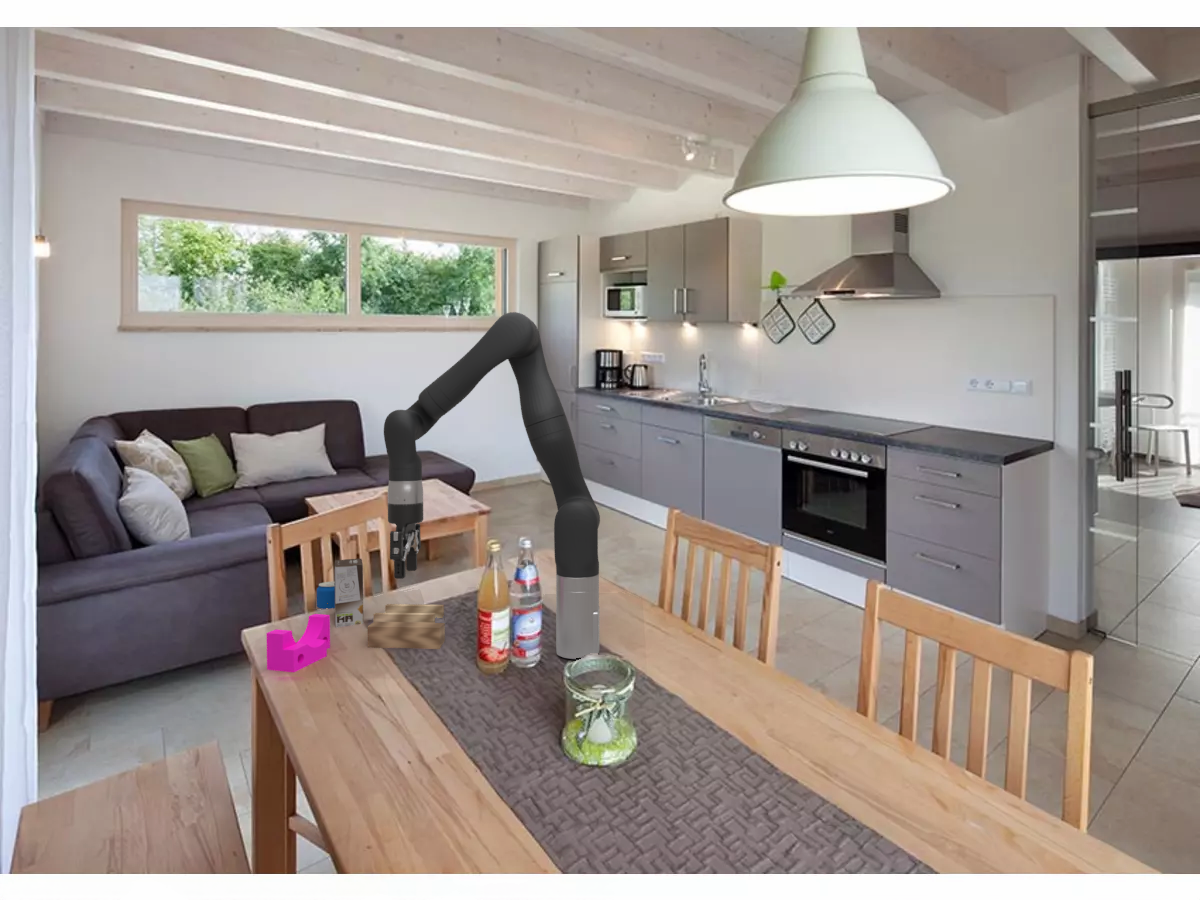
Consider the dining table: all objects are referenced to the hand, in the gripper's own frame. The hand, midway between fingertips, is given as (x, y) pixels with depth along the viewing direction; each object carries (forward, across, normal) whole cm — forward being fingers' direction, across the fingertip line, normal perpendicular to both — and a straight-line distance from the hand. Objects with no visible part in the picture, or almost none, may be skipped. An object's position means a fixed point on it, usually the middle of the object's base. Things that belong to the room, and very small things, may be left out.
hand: (406, 574), depth 155 cm
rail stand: (+16, +12, +3) cm, 20 cm away
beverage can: (+19, +21, +26) cm, 39 cm away
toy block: (+16, -10, +18) cm, 26 cm away
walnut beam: (+16, 0, 0) cm, 16 cm away
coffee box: (+16, +13, +18) cm, 28 cm away
